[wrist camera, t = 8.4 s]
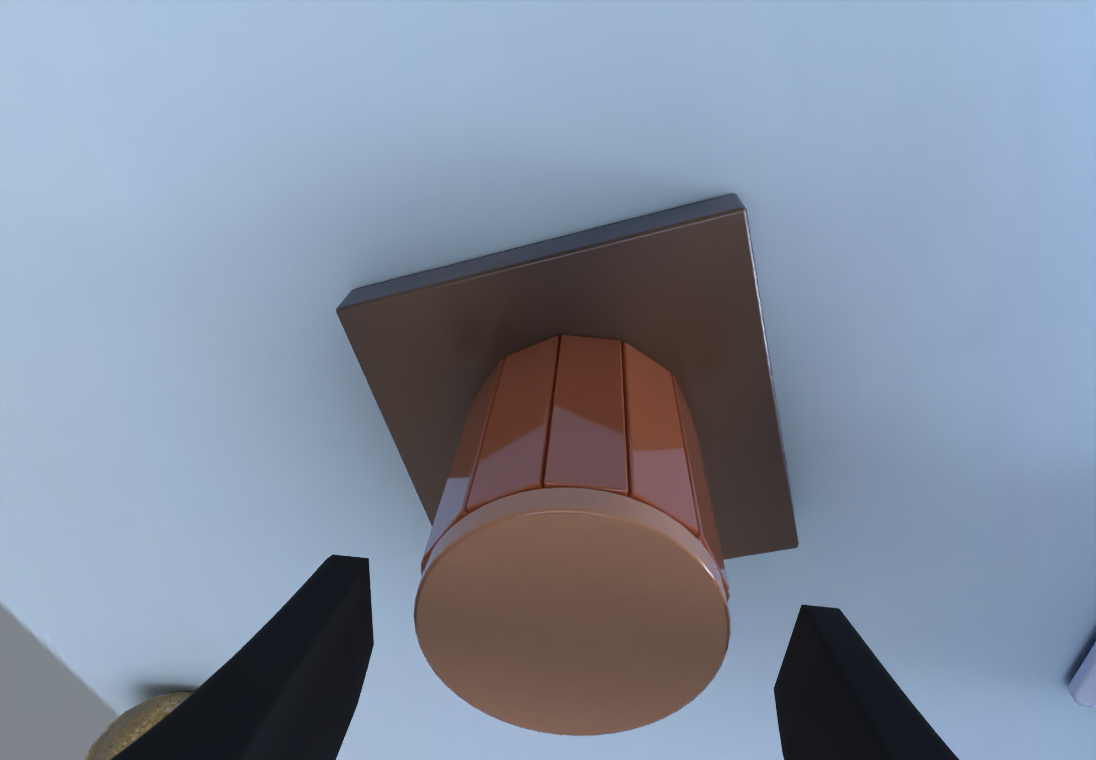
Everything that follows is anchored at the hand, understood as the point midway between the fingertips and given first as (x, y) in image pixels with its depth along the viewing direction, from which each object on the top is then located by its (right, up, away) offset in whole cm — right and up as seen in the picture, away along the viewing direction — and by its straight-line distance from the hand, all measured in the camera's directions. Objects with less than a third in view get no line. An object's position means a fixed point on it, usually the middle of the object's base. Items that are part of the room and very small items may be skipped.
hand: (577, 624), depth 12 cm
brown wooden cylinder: (0, +3, +5) cm, 6 cm away
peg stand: (0, +3, +6) cm, 7 cm away
